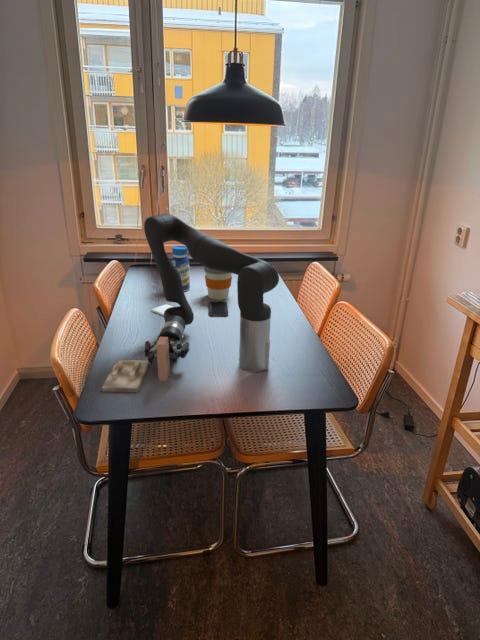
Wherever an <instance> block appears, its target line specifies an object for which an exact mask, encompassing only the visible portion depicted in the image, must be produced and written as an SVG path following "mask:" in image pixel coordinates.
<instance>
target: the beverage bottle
mask: <svg viewBox="0 0 480 640" xmlns="http://www.w3.org/2000/svg"><path fill="white" fill-rule="evenodd" d="M171 249H172V250H171V252H172V255H173V256H172V258H171V260H170V261H171V263H172V264H173V265H174V266H175V268H176V269H177V270H178V272H179V274H180V276H181V280H182V284H183V290H184V292H187V291H189V290H190V288H191V282H190V281H191V280H190V259H189V257H188V256H187V255H188V250H187V247H186V246H185V245H174V246H172V248H171Z"/></svg>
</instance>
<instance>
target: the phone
mask: <svg viewBox="0 0 480 640" xmlns="http://www.w3.org/2000/svg"><path fill="white" fill-rule="evenodd" d="M208 316H209V317H211V318H213V317H214V318H216V317H218V318H219V317H221V318H223V317H228V316H229V308H228V302H227V301H221V300H218V301H217V300H215V301H214V300H213V301H212V300H211V301H209V303H208Z"/></svg>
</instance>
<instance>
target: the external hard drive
mask: <svg viewBox="0 0 480 640" xmlns="http://www.w3.org/2000/svg"><path fill="white" fill-rule="evenodd" d="M171 307H174V306H172V305H169V304H162V305H160V306H157V307H154V308H152V309H151V312H152V313H154V312H155V314H157V315H159V314H160V315H159V316H162V317H164V312H165V310H166V309H168V308H171Z"/></svg>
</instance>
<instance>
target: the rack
mask: <svg viewBox="0 0 480 640" xmlns="http://www.w3.org/2000/svg"><path fill="white" fill-rule="evenodd" d="M149 366H150V362H148V360H140V359H139V360H137V359H136V360H135V359H117V360H116V362H115V364H114V365H113V367H112V368H111V371H110V372H109V373H108V376H107V378H106V379H105V381H104V382H103V384H102V387H101V391H102V392H114V393H117V392H119V393H122V392H124V393H139V389H140V387H141V385H142V382H143V380H144V378H145V375H146V373H147V371H148V368H149Z"/></svg>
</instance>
